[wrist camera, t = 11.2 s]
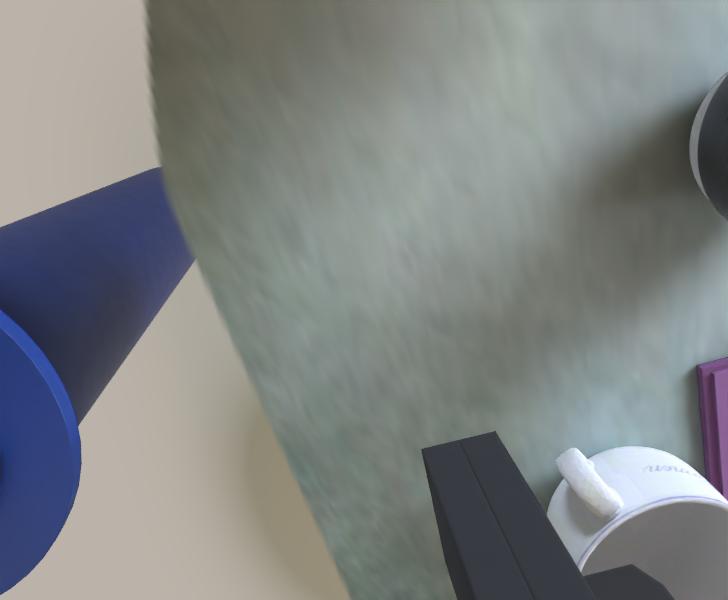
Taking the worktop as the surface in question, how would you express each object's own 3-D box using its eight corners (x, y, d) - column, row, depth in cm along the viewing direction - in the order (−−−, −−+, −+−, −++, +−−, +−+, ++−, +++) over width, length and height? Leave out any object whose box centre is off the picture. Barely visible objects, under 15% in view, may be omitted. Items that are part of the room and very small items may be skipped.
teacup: (704, 517, 44) (790, 603, 36) (565, 591, 44) (621, 691, 37) (629, 357, 40) (707, 416, 32) (477, 442, 40) (519, 519, 33)
